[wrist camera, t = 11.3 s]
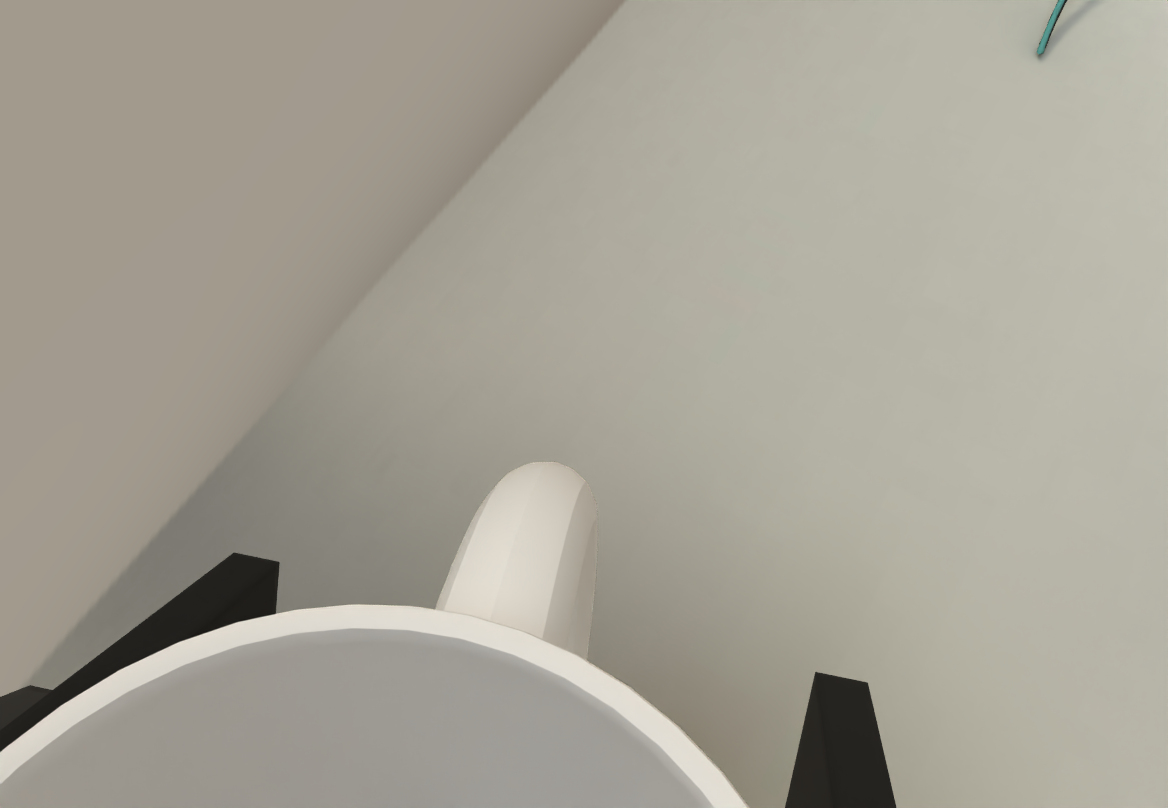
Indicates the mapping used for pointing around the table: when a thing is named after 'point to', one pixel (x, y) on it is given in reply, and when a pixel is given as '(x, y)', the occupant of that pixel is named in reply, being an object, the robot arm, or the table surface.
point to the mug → (388, 697)
